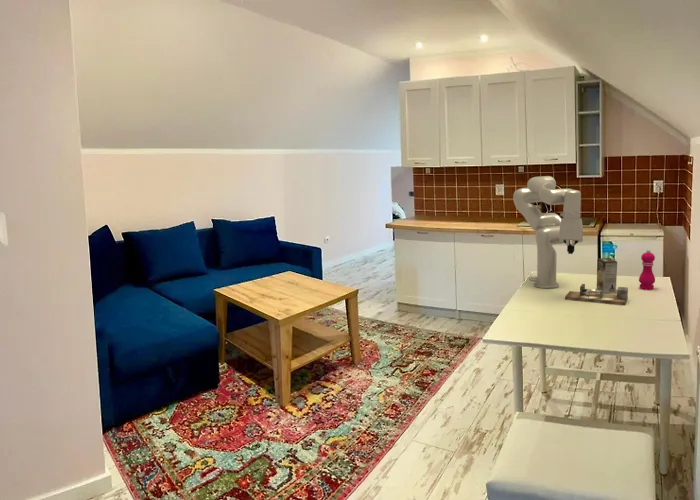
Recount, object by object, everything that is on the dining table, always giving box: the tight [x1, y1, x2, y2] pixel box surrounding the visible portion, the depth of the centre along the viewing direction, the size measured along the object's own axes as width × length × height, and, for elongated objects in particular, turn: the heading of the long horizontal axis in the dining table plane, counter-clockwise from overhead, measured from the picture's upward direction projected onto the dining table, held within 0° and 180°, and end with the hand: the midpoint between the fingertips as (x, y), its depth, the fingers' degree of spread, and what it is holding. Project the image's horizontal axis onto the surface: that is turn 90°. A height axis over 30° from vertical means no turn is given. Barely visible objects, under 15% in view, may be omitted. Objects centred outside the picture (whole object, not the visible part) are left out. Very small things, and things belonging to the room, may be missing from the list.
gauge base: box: [564, 286, 629, 306], centre depth 261 cm, size 26×11×6 cm, turn 57°
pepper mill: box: [638, 249, 656, 291], centre depth 273 cm, size 7×7×20 cm
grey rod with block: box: [579, 283, 602, 295], centre depth 262 cm, size 9×8×4 cm
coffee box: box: [596, 257, 618, 294], centre depth 273 cm, size 9×6×16 cm
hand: (570, 253), depth 266 cm, fingers closed
